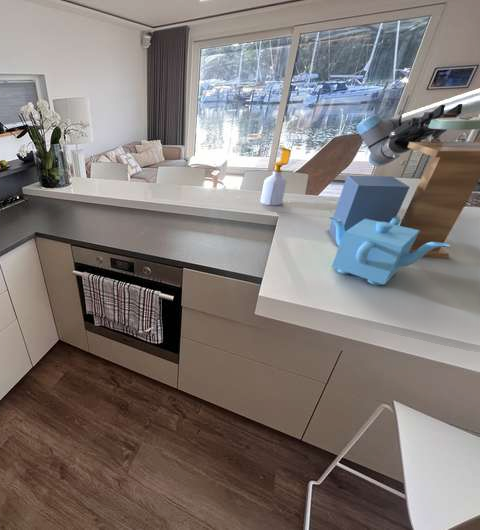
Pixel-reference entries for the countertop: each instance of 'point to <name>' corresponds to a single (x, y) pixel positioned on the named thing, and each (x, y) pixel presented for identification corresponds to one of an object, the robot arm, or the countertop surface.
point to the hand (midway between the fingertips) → (451, 109)
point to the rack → (442, 191)
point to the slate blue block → (368, 200)
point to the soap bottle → (275, 182)
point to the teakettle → (377, 249)
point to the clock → (454, 122)
